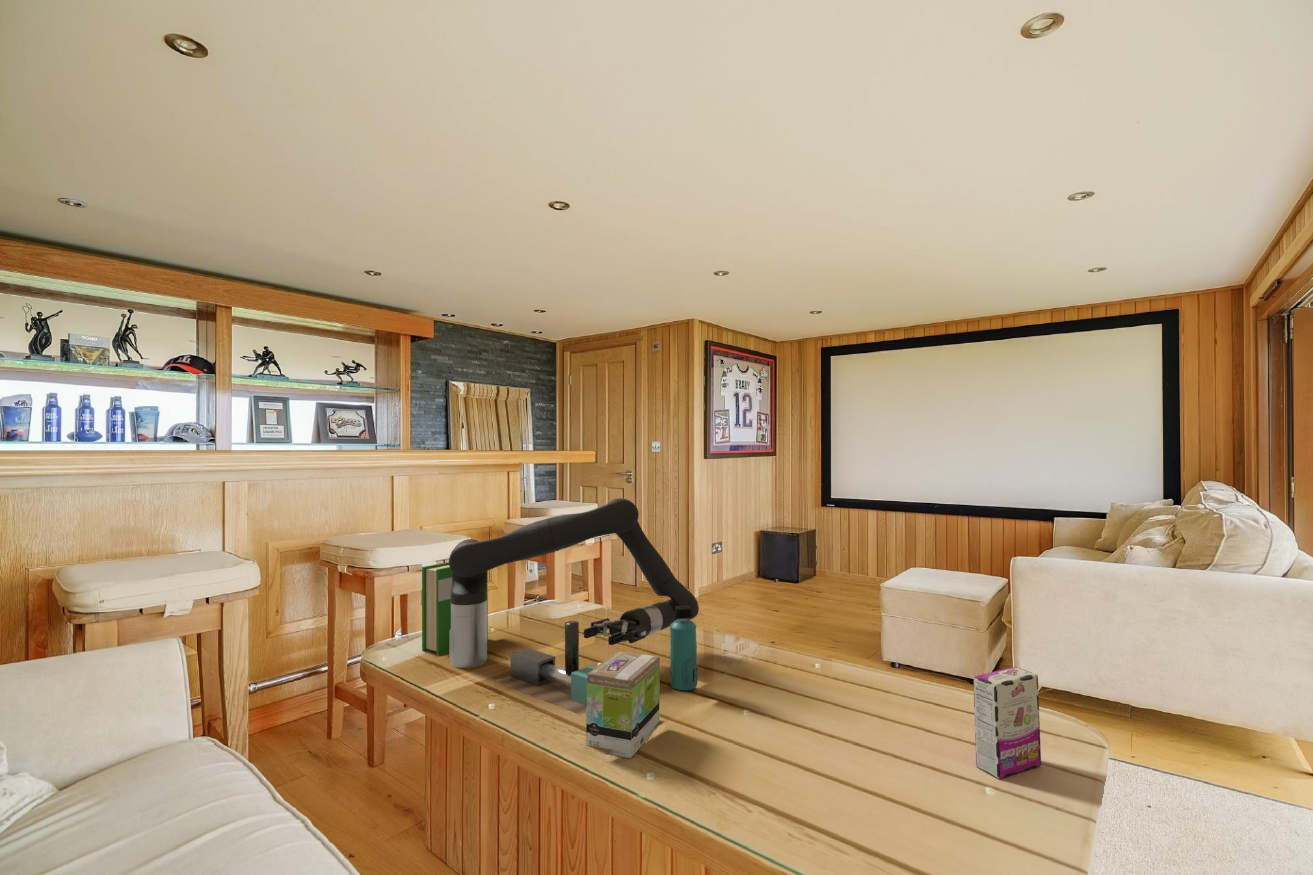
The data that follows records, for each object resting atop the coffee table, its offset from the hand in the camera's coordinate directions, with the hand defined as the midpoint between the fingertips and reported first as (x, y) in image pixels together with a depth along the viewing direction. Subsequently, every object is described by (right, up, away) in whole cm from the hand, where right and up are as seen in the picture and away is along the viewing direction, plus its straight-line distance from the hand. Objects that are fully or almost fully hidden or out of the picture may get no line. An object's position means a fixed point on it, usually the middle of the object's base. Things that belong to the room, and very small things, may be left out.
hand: (596, 637), depth 149 cm
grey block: (-16, -11, +3) cm, 20 cm away
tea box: (+8, -12, -26) cm, 30 cm away
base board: (-9, -12, -3) cm, 15 cm away
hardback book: (-45, -13, +34) cm, 58 cm away
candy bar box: (+77, -11, -38) cm, 87 cm away
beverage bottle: (+21, -12, -3) cm, 24 cm away
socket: (0, -11, -10) cm, 15 cm away
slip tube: (-7, -10, -4) cm, 13 cm away
